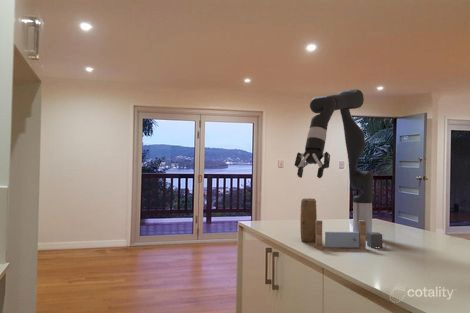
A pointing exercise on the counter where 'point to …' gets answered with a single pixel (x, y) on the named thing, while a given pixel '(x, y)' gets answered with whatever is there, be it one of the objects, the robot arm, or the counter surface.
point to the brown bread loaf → (308, 220)
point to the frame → (361, 246)
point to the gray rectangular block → (374, 239)
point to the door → (342, 239)
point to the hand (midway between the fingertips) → (309, 177)
